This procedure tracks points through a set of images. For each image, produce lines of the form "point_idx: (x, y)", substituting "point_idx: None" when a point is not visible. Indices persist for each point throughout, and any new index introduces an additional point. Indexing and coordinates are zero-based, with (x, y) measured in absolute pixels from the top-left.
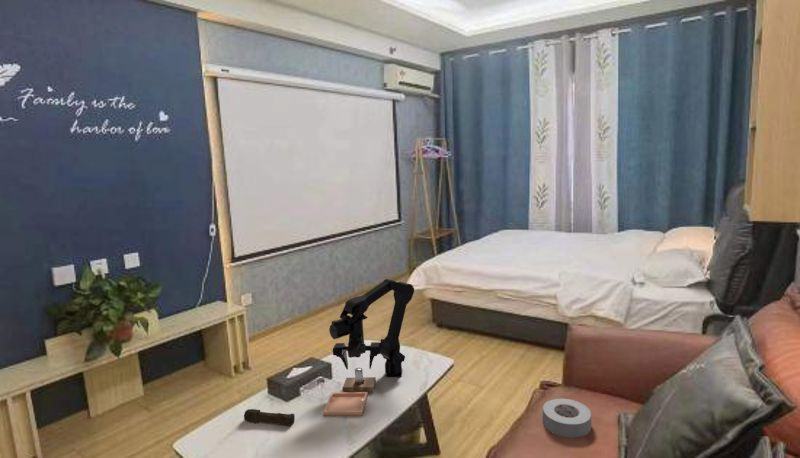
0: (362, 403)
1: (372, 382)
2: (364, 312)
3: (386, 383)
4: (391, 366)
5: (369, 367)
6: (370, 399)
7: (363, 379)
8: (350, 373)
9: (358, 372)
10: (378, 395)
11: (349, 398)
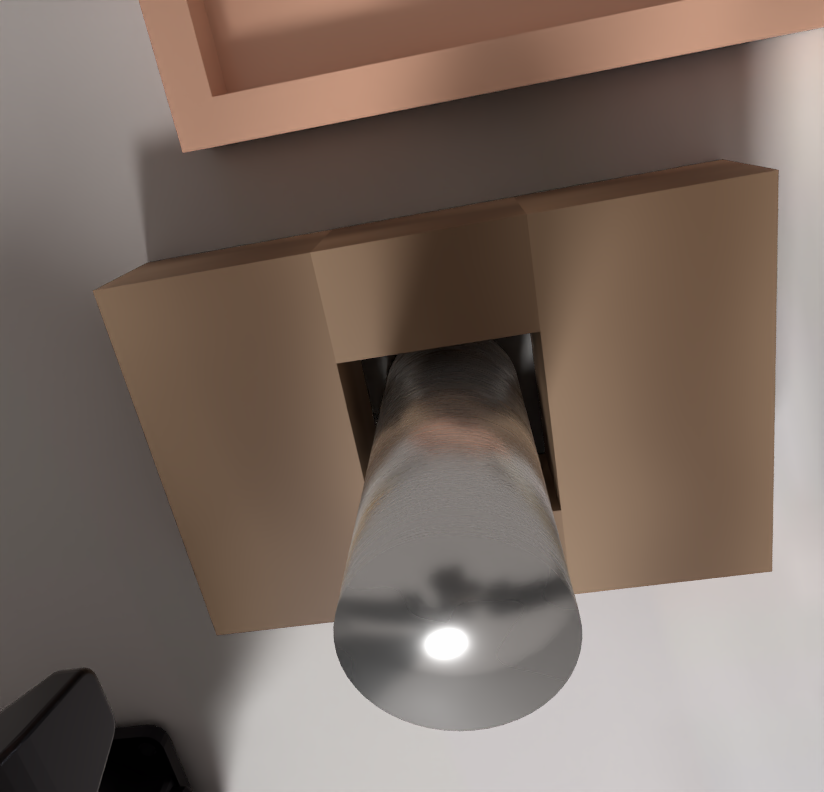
0: None
1: (186, 460)
2: None
3: (81, 571)
4: None
5: (47, 705)
6: (94, 11)
7: None
8: (728, 764)
9: (421, 510)
10: (21, 192)
11: None
